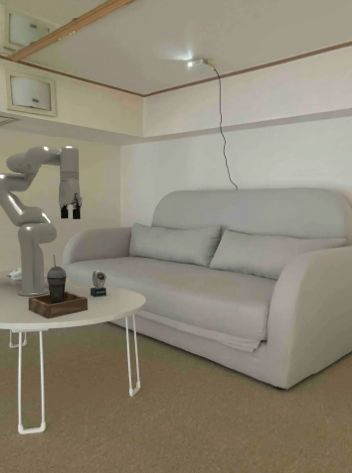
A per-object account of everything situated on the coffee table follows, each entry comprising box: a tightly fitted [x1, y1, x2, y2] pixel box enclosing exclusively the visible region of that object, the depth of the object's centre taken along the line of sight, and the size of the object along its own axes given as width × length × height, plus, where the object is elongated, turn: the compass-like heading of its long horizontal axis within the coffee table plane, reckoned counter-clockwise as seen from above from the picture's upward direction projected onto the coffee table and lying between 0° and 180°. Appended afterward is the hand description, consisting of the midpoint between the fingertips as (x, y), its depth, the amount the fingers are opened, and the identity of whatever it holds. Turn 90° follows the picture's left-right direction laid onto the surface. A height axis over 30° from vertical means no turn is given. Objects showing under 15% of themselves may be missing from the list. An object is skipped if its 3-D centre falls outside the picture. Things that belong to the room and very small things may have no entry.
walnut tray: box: [28, 290, 89, 319], centre depth 143 cm, size 16×16×4 cm
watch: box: [89, 269, 107, 298], centre depth 166 cm, size 6×8×11 cm
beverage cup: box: [46, 254, 68, 304], centre depth 142 cm, size 7×7×20 cm
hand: (70, 218), depth 154 cm, fingers open, 9 cm apart
